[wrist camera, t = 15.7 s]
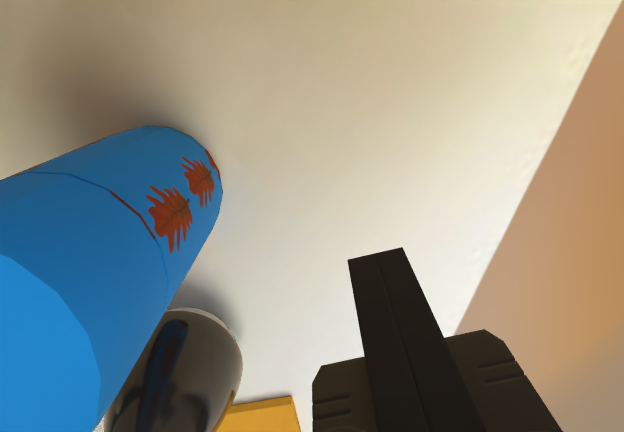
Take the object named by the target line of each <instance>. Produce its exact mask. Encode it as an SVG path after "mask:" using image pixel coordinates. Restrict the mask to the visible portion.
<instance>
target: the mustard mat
mask: <svg viewBox="0 0 624 432" xmlns="http://www.w3.org/2000/svg"><path fill="white" fill-rule="evenodd" d="M217 432H301V431H300V426H299V422H298V418H297V414H296V410H295V406H294V402H293V398H292V396H288V397H282V398H276V399H270V400H263V401H257V402H251V403H245V404H238V405H232V406H231V407H230V409H229V411H228V413H227V415H226V417H225V419H224V421H223V422H222V424H221V426H220V427H219V429H218V430H217Z"/></svg>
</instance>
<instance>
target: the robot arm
mask: <svg viewBox="0 0 624 432" xmlns="http://www.w3.org/2000/svg"><path fill="white" fill-rule="evenodd" d="M348 265H349V271H350V277H351V282H352V288H353V293H354V299H355V305H356V310H357V316H358V321H359V327H360V333H361V338H362V344H363V349H364V355H365V357H360V358H356V359H351V360H346V361H341V362H337V363H332V364H327V365H323V366H321V368H320V369H319V371H318V373H317V375H316V377H315V379H314V381H313V383H312V402H313V405H312V413H313V432H563V431H562V430H561V428H560V427H559V425H558V424H557V422H556V421H555V419H554V418H553V417H552V415H551V413H550V412H549V410H548V408H547V407H546V405H545V404H544V402H543V401H542V399H541V398H540V396H539V395H538V393H537V392H536V390H535V389H534V387H533V386H532V384H531V382H530V381H529V379H528V378H527V376H526V375H524V372H523V370H522V369H521V367H520V366H519V364H518V363H517V361H515V358H514V357H513V355H512V353H511V352H510V351H509V349H508V347H507V346H506V344H505V343H504V341H502V340H501V339H499V338H498V337H496V336H494V335H493V334H491V333H490V332H488V331H486V330H479V331H474V332H469V333H465V334H460V335H455V336H451V337H446V338H444V337H443V335H442V332H441V330H440V328H439V326H438V324H437V322H436V319H435V317H434V315H433V313H432V311H431V309H430V306H429V304H428V302H427V300H426V298H425V295H424V293H423V291H422V289H421V287H420V285H419V282H418V280H417V278H416V276H415V274H414V272H413V269H412V267H411V265H410V263H409V261H408V258H407V256H406V254H405V252H404V250H403V248H402V247H401V248H397V249H393V250H388V251H384V252H380V253H375V254H371V255H366V256H362V257H358V258H353V259H349V260H348Z"/></svg>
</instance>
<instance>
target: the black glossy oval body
mask: <svg viewBox="0 0 624 432" xmlns="http://www.w3.org/2000/svg"><path fill="white" fill-rule="evenodd" d="M242 370H243V362H242V356H241V352H240V349H239V347H238V345H237V343H236V341H235V338H234V336H233V334H232V333H231V331H230V330H229V328H228V327H227V326H226V325H225V324H224V323H223V322H222V321H221V320H220V319H219V318H217V317H216V316H214V315H213V314H211V313H209V312H206V311H203V310H200V309H196V308H175V309H170V310H167V311H165V313H164V314H163V316H162V318H161V320H160V321H159V323H158V325H157V327H156V328H155V330H154V332H153V334H152V335H151V337H150V339H149V341H148V342H147V344H146V346H145V348H144V349H143V351H142V353H141V354H140V356H139V358H138V360H137V361H136V363H135V365H134V367H133V368H132V370H131V372H130V374H129V375H128V377H127V379H126V381H125V382H124V384H123V386H122V388H121V389H120V391H119V393H118V394H117V396H116V397H115V399H114V401H113V402H112V404H111V405H110V407H109V408H108V410H107V412H106V413H105V416H104V432H217V430H218V429H219V427H220V426H221V424H222V422H223V421H224V419H225V417H226V415H227V413H228V411H229V409H230V407H231V405H232V403H233V400H234V398H235V396H236V393H237V391H238V388H239V385H240V381H241V377H242Z"/></svg>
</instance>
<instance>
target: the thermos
mask: <svg viewBox="0 0 624 432" xmlns="http://www.w3.org/2000/svg"><path fill="white" fill-rule="evenodd" d="M222 194H223V190H222V185H221V179H220V173H219V170H218V168H217V167H216V165H215V163H214V161H213V160H212V158H211V156H210V154H209V153H208V151H207V150H206V149H204V148H203V147H202V146H201V145H200V144H199V143H198V142H197V141H195V140H194V139H193V138H192V137H191V136H189V135H186V134H184V133H182V132H179V131H177V130H174V129H172V128H170V127H156V126H144V127H140V128H136V129H132V130H128V131H125V132H122V133H119V134H115V135H112V136H109V137H106V138H103V139H101V140H98V141H96V142H93V143H91V144H88V145H86V146H83V147H81V148H79V149H76V150H74V151H71V152H69V153H66V154H64V155H61V156H59V157H56V158H54V159H51V160H49V161H46V162H44V163H42V164H39V165H37V166H34V167H32V168H29V169H27V170H24V171H22V172H19V173H17V174H14V175H12V176H10V177H7V178H5V179H2V180H0V432H92V431H93V430H94V429H95V428H96V426H97V425H98V424H99V422H100V421H101V419H102V418H103V416H104V415H105V413H106V412H107V410H108V408H109V407H110V405H111V404H112V402H113V401H114V399H115V397H116V396H117V394H118V393H119V391H120V389H121V388H122V386H123V384H124V382H125V381H126V379H127V377H128V375H129V374H130V372H131V370H132V368H133V367H134V365H135V363H136V361H137V360H138V358H139V356H140V354H141V353H142V351H143V349H144V348H145V346H146V344H147V342H148V341H149V339H150V337H151V335H152V334H153V332H154V330H155V328H156V327H157V325H158V323H159V321H160V320H161V318H162V316H163V314H164V313H165V311H166V309H167V307H168V306H169V304H170V302H171V300H172V299H173V297H174V295H175V293H176V292H177V290H178V288H179V286H180V285H181V283H182V281H183V279H184V278H185V276H186V274H187V272H188V271H189V269H190V267H191V265H192V264H193V262H194V260H195V258H196V257H197V255H198V253H199V252H200V250H201V248H202V246H203V245H204V243H205V241H206V239H207V238H208V236H209V234H210V232H211V231H212V229H213V226H214V224H215V221H216V219H217V216H218V214H219V210H220V205H221V199H222Z"/></svg>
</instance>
